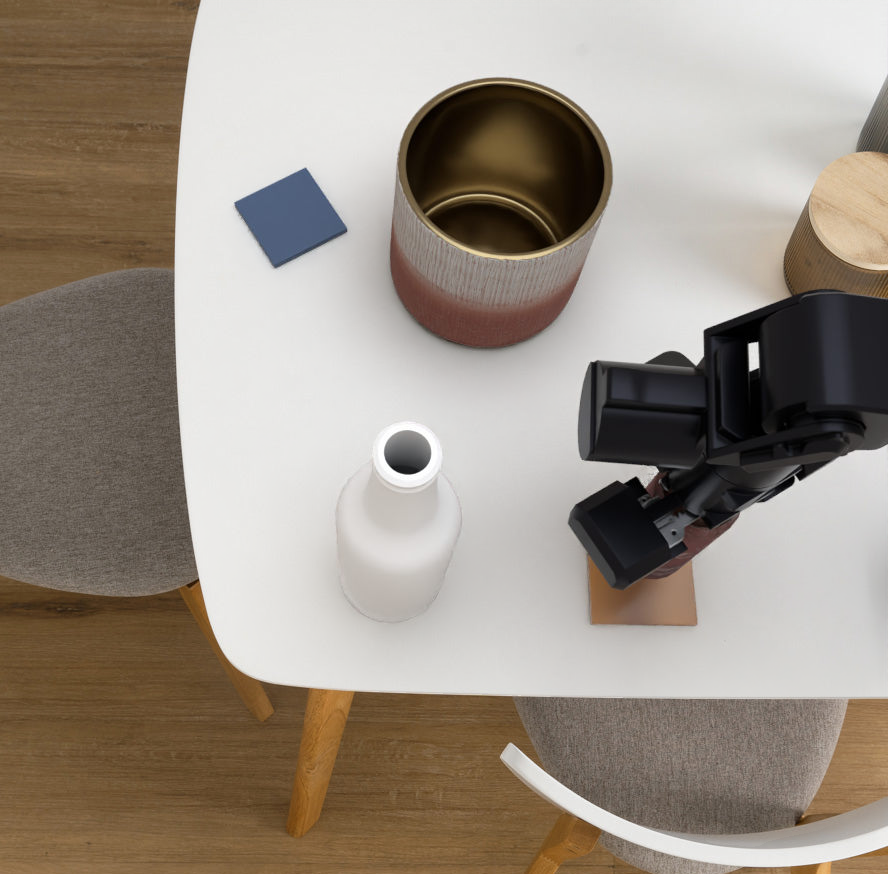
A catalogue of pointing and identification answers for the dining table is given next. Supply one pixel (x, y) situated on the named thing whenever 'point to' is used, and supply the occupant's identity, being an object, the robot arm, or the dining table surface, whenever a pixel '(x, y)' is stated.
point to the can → (686, 534)
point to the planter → (496, 209)
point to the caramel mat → (644, 600)
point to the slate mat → (290, 217)
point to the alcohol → (397, 525)
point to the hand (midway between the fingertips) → (670, 517)
